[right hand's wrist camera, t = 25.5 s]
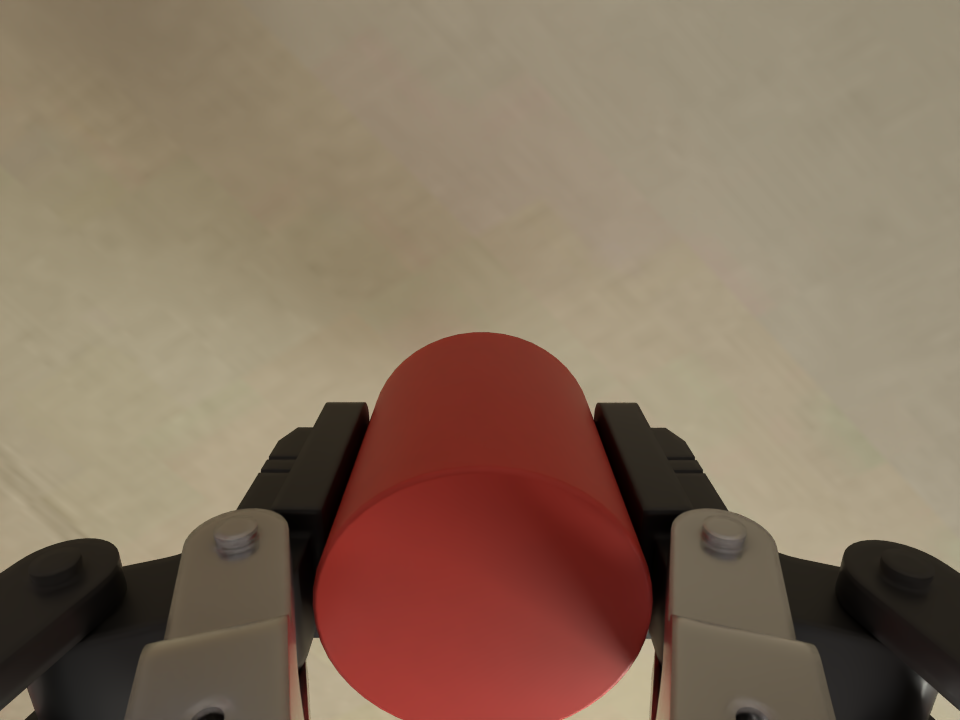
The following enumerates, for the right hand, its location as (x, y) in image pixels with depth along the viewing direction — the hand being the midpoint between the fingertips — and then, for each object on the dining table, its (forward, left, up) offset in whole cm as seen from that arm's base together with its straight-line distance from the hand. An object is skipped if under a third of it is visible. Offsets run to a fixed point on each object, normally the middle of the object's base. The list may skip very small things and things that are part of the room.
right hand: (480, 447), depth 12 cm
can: (0, 0, 0) cm, 0 cm away
